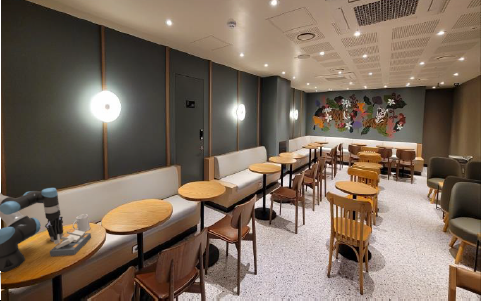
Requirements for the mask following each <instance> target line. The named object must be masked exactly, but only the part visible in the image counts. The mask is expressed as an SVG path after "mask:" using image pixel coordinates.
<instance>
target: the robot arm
mask: <svg viewBox="0 0 481 303" xmlns="http://www.w3.org/2000/svg"><path fill="white" fill-rule="evenodd" d="M35 204H43V210H44V215H45V216H44V217H45V219H47V223H48V224H47V223H46V224H47V225H46V224H45V225H44V227H45V228H46V230H47V233H48V236H49V235H50V236H49V238H50V237H51V236H53V238H54V241H53V243H54V245H57V244H59V243H61V239H60V233H61V232H60V231H62V225H63V223H62V220H63V216H61V210H60V203H59V193H58V190H57V188H56V187H47V188H43V189H42V190H41V191H39V190H38V191H36V190H32V191H26V192H25V193H24V194H23V195H21V196H18V197H16V198H15V197H12V196H7V195H3V194H2V193H1V192H0V219H1V220H2V221H3V222H4V223H5V224H6V227H2V228H0V271H1V272H4V273H7V272H9V271H12V270H14V269H16V268H18V267H20V265H23V263H25V260H26V256H25V255H24V254H23V253H22V251H20V248H19V244H21V243H23V242H25V241H26V240H28V239H29V238H32V237H33V236H35V235H36V234H37V233H39V231H40V230H41V223H40V222H41V221H40V220H39V219H38V218H36V217H30V216H28V215H26V214H25V215H23V213H21V212H20V211H23V210H24V209H26V208H29V207H31V206H33V205H35Z"/></svg>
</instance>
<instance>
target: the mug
mask: <svg viewBox="0 0 481 303" xmlns="http://www.w3.org/2000/svg"><path fill="white" fill-rule="evenodd" d="M75 223H76V227H77V228H75V227H74V226H75ZM90 225H91V224H90V218H89V214H87V213H85V214H84V213H83V214H79V215H78V216H76V217H75V221H73V224H72V229H74V230H79V231H83V232H85V233H86V232H88V231H90V229H91V226H90Z"/></svg>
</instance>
